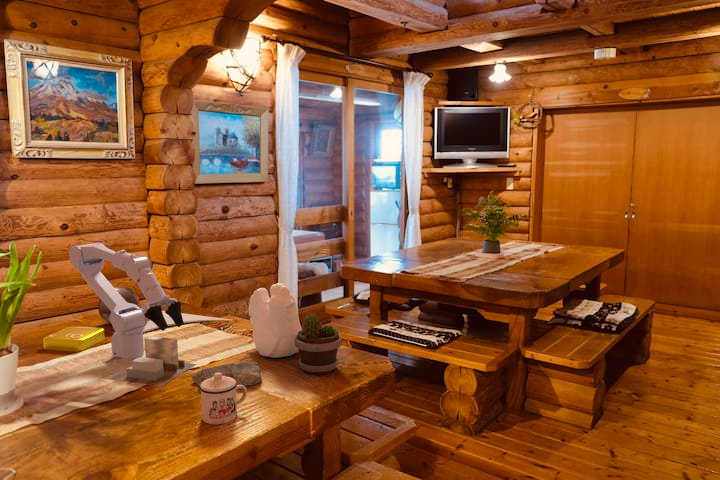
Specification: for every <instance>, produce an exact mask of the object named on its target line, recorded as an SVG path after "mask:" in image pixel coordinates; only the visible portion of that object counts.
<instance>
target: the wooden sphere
mask: <svg viewBox="0 0 720 480" xmlns="http://www.w3.org/2000/svg"><path fill="white" fill-rule="evenodd" d="M113 287H114V288H115V289H116V290H117V292H118V293H119V294H120V295H121V296H122V297H123V299H124V300H125V301H126V302H128V303H132V304H136V305H137V306H138V307H139V308H141V305H140V299H139V296H138V295H137V294H136V292H135V291H134V290H133V289H131V288H130V287H129V288H128V287H126V286H113ZM97 307H98V308H97V309H98V313H99V315H100V317H101V318H102V320H104V322H106V323H108V324H110V325H112V323H111V322H110V321H109V317H110V314H111V311H110V309H109V308H108V307H107V306H106V305H105V303H104V302H103V301H102V300H101V299H100V298H99V300H98V304H97Z"/></svg>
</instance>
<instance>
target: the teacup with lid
mask: <svg viewBox="0 0 720 480" xmlns="http://www.w3.org/2000/svg"><path fill="white" fill-rule="evenodd" d="M239 389H242V390H243V394H242V396H241V398H240V399H238V400H237V390H239ZM199 390H200V399H201V400H200V403H201V405H200V406H201V419H202V421H203V422H204V423H206V424H207V425H208V424H209V425H224V424H228V423H230V422H232V421H234V420H235V419H236V418H237V416H238V412H237V410H238V408H237V407H238V405H240V404H242V403H243V402H244V401H245V400H246V398H247V395H248V389H247V386H243V385H237V383H236V381H235V380H234V379H233V378H231V377H225V376H222V373H215V374H214V377H211V378H209V379H206V380H205V381H203V382H202V383H201V385H200V386H199Z"/></svg>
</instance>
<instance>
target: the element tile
mask: <svg viewBox="0 0 720 480" xmlns="http://www.w3.org/2000/svg"><path fill="white" fill-rule="evenodd" d="M105 334H106V333H105V328H103V327H95V326H93V327H91V326H79V325H78V326H76V325H75V326H74V325H73V326H72V325H71V326H67V327H64V328H62V329H60V330H58V331H55V332H53V333H51V334H48V335H46V336H44V337H43V338H42V340H43V341H42V342H43V343H42V344H43V350H46V351H60V352H76V353H77V352H82V351H85V350H87V349H89V348H91V347H93V346H95V345H97V344H98V343H101V342H104V340H105V339H106V337H105Z"/></svg>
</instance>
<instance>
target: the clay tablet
mask: <svg viewBox="0 0 720 480" xmlns="http://www.w3.org/2000/svg"><path fill="white" fill-rule="evenodd" d="M215 373H222V376H225V377H231V378H233V379H234V380H235V381H236V383H237V385H243V386H245V387H247V386H253V385H257V384H259V383H261V382H262V380H263V378H262V372H261V367H259V363H258V362H256V361H250V360H249V361H248V360H247V361H245V362H244V361H241V362H238V363H235V362H232V363H225V364H220V365H218V366H212V367H211V366H210V367H207V368H206V367H205V368H202V369H200V370H198V371H197V372H195V373H194V374H193V375H191V379H192V381H193V382H194V383H195V384H196V386H197V387H200V385H201V383H202V382H203V381H205V380H206V379H209V378H211V377H214V374H215Z"/></svg>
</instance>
